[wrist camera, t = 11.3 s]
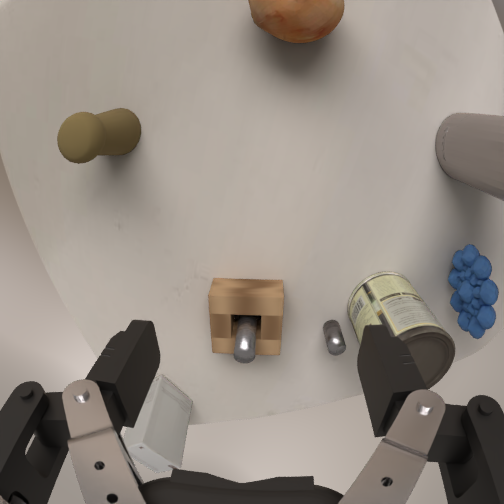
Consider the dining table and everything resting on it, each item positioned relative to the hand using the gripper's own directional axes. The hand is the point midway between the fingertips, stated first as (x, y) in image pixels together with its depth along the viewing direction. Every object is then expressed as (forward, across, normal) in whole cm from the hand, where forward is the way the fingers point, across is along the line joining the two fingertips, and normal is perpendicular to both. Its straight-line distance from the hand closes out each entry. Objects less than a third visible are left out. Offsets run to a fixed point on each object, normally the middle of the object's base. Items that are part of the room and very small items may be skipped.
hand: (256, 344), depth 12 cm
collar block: (+28, +3, +16) cm, 33 cm away
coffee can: (+29, -16, +16) cm, 37 cm away
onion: (+29, -3, -21) cm, 36 cm away
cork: (+28, +18, -8) cm, 35 cm away
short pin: (+29, -9, +20) cm, 36 cm away
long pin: (+28, +3, +16) cm, 33 cm away
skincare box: (+28, +17, +35) cm, 48 cm away
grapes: (+29, -28, +11) cm, 42 cm away
